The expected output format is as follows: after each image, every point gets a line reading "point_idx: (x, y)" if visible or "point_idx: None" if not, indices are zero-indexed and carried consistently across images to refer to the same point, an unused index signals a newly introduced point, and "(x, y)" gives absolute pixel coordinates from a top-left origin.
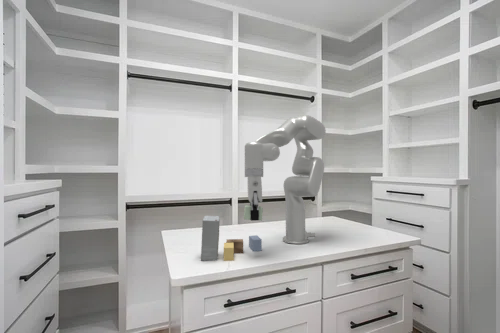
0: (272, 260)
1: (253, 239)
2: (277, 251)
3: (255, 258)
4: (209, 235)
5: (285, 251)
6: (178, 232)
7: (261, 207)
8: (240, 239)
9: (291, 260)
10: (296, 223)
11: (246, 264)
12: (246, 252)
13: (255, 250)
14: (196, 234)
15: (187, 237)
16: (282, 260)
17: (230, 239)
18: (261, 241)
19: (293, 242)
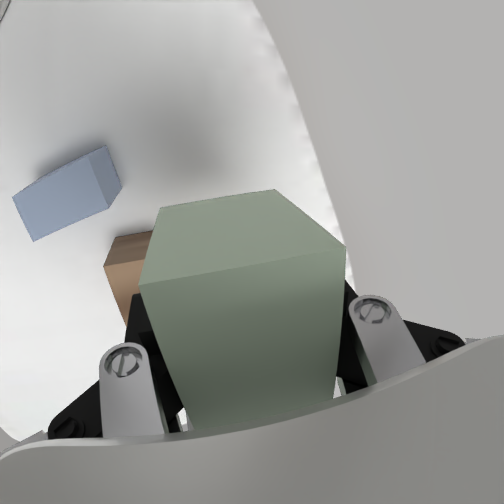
0: (252, 88)
1: (98, 206)
2: (112, 61)
3: (225, 167)
4: None
5: (113, 23)
6: (24, 432)
7: (293, 279)
8: (114, 277)
9: (252, 5)
10: None
11: (298, 202)
12: (141, 217)
13: (116, 176)
14: (11, 401)
15: (48, 416)
16: (252, 43)
17: (127, 321)
18: (92, 154)
19: (4, 4)
